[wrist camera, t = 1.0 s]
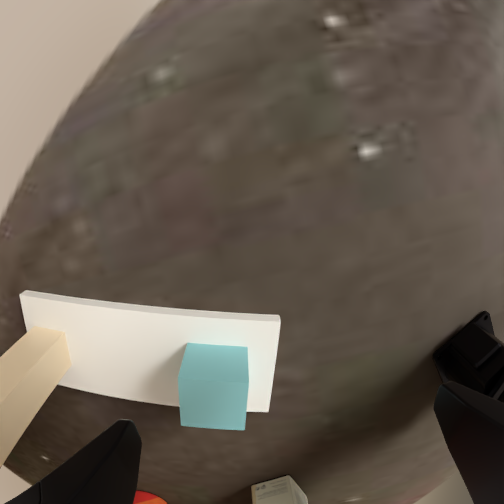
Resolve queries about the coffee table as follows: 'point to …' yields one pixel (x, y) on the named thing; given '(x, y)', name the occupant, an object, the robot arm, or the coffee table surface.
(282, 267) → the coffee table surface
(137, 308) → the white base with post
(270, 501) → the skincare box
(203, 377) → the teal block
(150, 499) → the paper cup
